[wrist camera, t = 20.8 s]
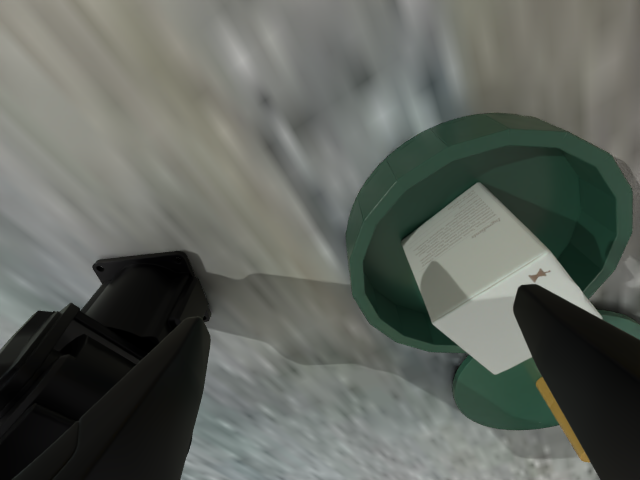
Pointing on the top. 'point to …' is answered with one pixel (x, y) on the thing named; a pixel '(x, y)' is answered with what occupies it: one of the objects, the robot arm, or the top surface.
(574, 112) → the top surface
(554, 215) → the dark green bowl
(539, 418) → the lid
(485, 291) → the product box
